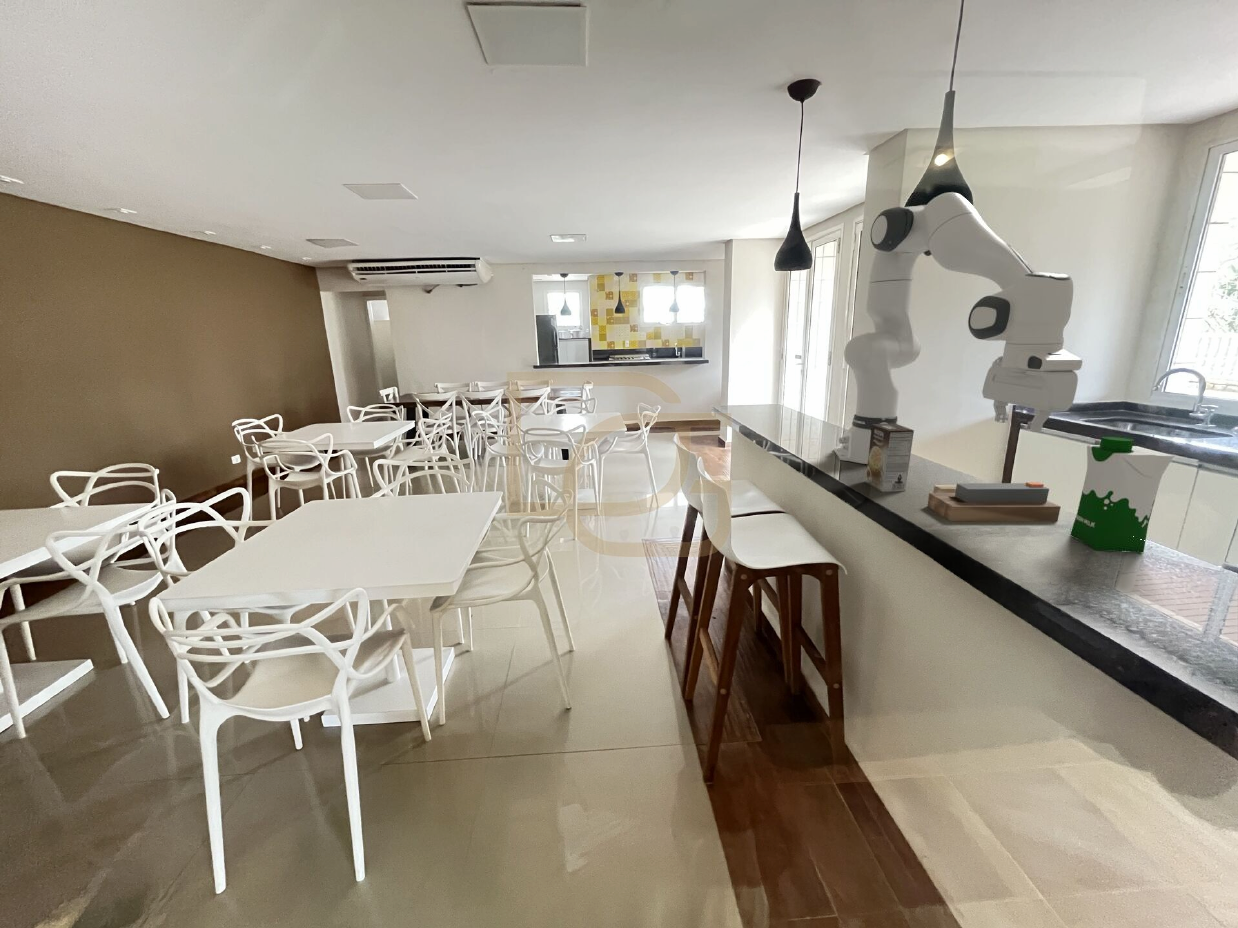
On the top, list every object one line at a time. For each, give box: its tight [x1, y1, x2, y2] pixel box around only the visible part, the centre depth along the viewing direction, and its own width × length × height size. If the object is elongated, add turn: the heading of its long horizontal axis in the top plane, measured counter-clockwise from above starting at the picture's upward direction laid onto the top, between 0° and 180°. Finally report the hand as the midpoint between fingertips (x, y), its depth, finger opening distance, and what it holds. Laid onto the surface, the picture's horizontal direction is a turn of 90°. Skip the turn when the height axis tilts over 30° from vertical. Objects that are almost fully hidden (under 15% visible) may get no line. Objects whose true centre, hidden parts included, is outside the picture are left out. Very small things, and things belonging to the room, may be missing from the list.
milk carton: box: [1070, 435, 1174, 554], centre depth 86 cm, size 9×9×20 cm
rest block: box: [932, 484, 957, 493], centre depth 115 cm, size 3×7×2 cm, turn 85°
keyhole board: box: [926, 492, 1061, 522], centre depth 103 cm, size 9×21×4 cm, turn 85°
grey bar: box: [955, 481, 1050, 503], centre depth 103 cm, size 4×16×6 cm, turn 85°
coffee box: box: [865, 423, 915, 493], centre depth 122 cm, size 9×6×16 cm
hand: (1016, 426), depth 99 cm, fingers open, 8 cm apart
